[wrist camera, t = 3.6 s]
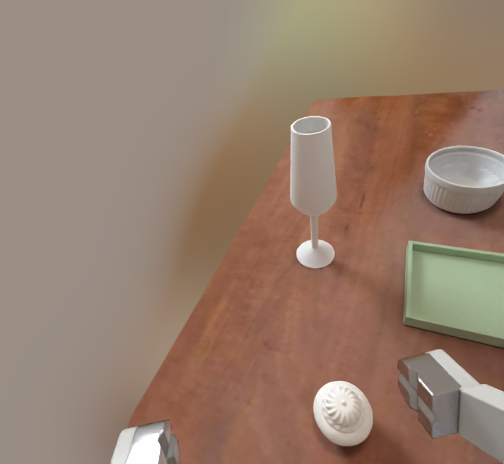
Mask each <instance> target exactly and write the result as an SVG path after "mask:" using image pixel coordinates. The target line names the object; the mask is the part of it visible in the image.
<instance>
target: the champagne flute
mask: <svg viewBox="0 0 504 464" xmlns="http://www.w3.org/2000/svg"><path fill="white" fill-rule="evenodd" d="M336 198H337V190H336V178H335V166H334V155H333V143H332V131H331V122H330V120H329V119H327V118H325V117H321V116H309V117H304V118H301V119H299V120H297V121H295V122H294V123H293V124H292V126H291V171H290V200H291V203H292V205H293V206H294V207H295V208H296V209H297V210H298V211H299V212H301V213H303V214H305V215H308V216H310V225H311V240H308V241H306V242H304V243H302V244H301V245H300V246H299V247H298V249H297V252H296V255H297V259H298V260H299V262H300V263H301V264H303V265H304V266H307V267H310V268H321V267H324V266H327V265H328V264H330V263H331V262H332V260H333V259H334V255H335V253H334V249H333V247H332V246H331V245H330V244H329V243H327V242H325V241H323V240H318V215H321V214H323V213H325V212H326V211H328V210H329V209H330V208H331V207H332V206H333V204H334V203H335V201H336Z"/></svg>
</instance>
